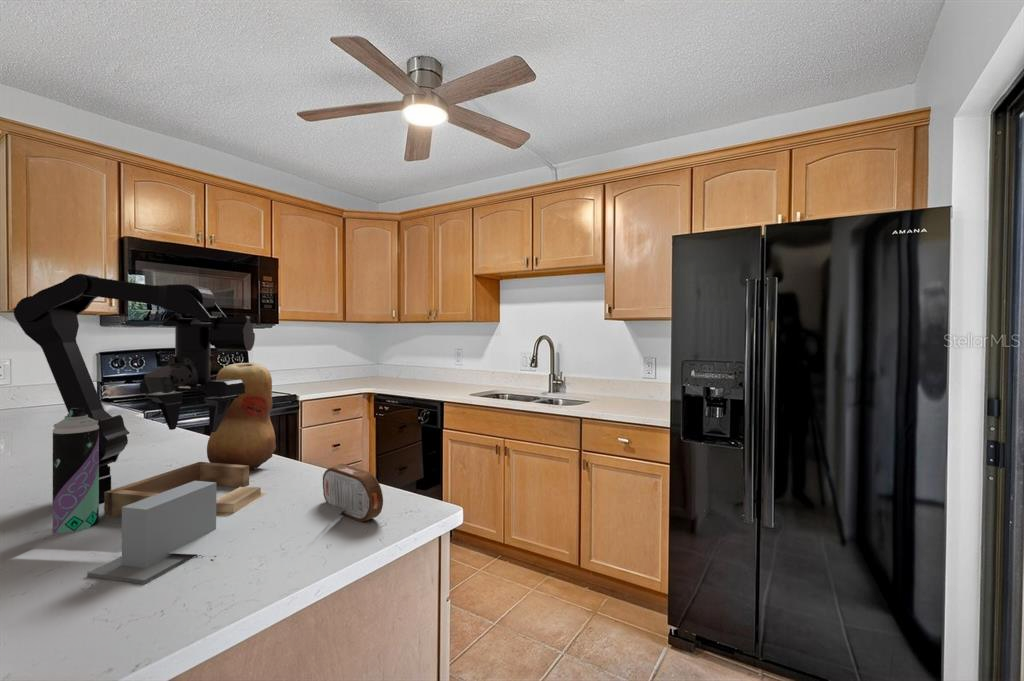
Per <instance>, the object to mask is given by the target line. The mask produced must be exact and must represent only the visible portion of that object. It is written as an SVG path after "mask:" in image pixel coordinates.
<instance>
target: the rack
mask: <svg viewBox="0 0 1024 681" xmlns="http://www.w3.org/2000/svg"><path fill="white" fill-rule="evenodd" d="M193 481H204V482H216V486H224V487H226V486H227V487H236V488H239V487H249V485H250V470H249V466H247V465H235V464H222V463H210V462H209V461H208V462H207V461H197V462H195V463H191V464H188V465H185V466H183V467H178V468H175V469H173V470H170V471H166V472H163V473H160V474H157V475H153V476H149V477H147V478H144V479H141V480H138V481H135V482H132V483H129V484H126V485H123V486H120V487H115V488H113V489H111V490H109V491H106V492H104V501H103V502H104V505H103V506H104V508H103V512H104V514H103V515H104V516H106V517H108V516H109V517H116V518H117V517H118V518H122V507H123V506H126V505H129V504H132V503H135V502H137V501H140V500H143V499H146V498H148V497H151V496H154V495H157V494H159V493H162V492H165V491H168V490H170V489H173V488H176V487H179V486H181V485H184V484H187V483H190V482H193Z"/></svg>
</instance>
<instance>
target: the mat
mask: <svg viewBox="0 0 1024 681" xmlns="http://www.w3.org/2000/svg"><path fill="white" fill-rule="evenodd" d="M172 554H173V555H171V556H169V557H167V558H165V559H164V560H162V561H160V562H158V563H156V564H154V565H152V566H150V567H148V568H140V567H132V566H124V565H122V556H120V557H118V558H115V559H114V560H111V561H109V562H107V563H105V564H103V565H100V566H98V567H97V568H94V569H92V570H90V571H87V573H86V575H87V577H90V578H97V579H105V580H113V581H120V582H126V583H133V584H140V583H141V585H146V584H147V583H149V582H151V581H153V580H155V579H157V578H159V577H160V576H162V575H164V574H166V573H167V572H170V571H171V570H173V569H175V568H176V567H178V566H180V565H182V564H184V563H185V562H187V561H190V560H191V559H192V558H193V559H194V558H195V557H196V556H198V554H194V553H193V554H192V553H189V554H187V553H172Z"/></svg>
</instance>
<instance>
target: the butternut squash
mask: <svg viewBox="0 0 1024 681" xmlns="http://www.w3.org/2000/svg"><path fill="white" fill-rule="evenodd" d="M271 374H272V373H270V370H269V369H268V368H267V367H266V366H264V365H262V364H260V363H255V362H238V363H232V364H228V365H225V366H224V367H222V368H220V369H219V371H218V373H217V374H216V376H215V380H222V379H240V380H242V381H243V383H244V384H245V393H244V394H238V395H239V398H235V399H234V401H233V402H232V404H231V405H230V407H229V409H228V410H227V412H226V414H225V416H224V418H223V419H222V421H221V423H220V425H219V427H218V429H217V431H216V432H213V433H212V432H210V435H209V438H208V440H207V445H206V456H207V459H208V462H209V463H222V464H235V465H247V466H249V471H254V470H255V469H257V468H259V467H260V466H262V465H263V464H264V463H266V462H267V461H269V460H270V459H271V458H272V457H273V454H274V452H275V451H276V450H277V445H276V434H275V433H276V432H275V429H274V426H273V423H272V421H271V415H270V414H271V410H272V409H273V392H272V391H273V379H272V375H271Z"/></svg>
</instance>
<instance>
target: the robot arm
mask: <svg viewBox="0 0 1024 681" xmlns="http://www.w3.org/2000/svg"><path fill="white" fill-rule="evenodd" d="M97 298H105V299H112V300H118V301H119V300H120V301H126V302H133V303H134V302H135V303H141V304H148V305H153V306H155V307H158V308H161V309H164V310H166V311H170V312H173V314H171V315H170V316H169V318H168V319H166V320H165V321H163V322H162V324H161V325H162V326H163V327H174V330H175V333H174V334H175V335H174V336H175V337H174V340H175V341H174V342H175V343H174V344H175V347H174V348H175V351H174V355H169V358H168V359H167V365H165V366H162V367H159V368H157V369H155V370H153V371H150V372H149V373H146V374H144V376H143V377H144V378H143V380H141V382H139V394H145V397H146V398H147V399H151V400H152V401H153V402H154V403H155V404H157V405H158V407H159V409H160V411H161V413H162V415H163V418H164V420H165V422H166V425H167V427H168V429H169V430H170V431H173V430H175V429H177V425H178V421H179V418H180V417H179V416H180V411H181V407H182V401H183V396H184V391H185V392H203V393H205V395H206V396H207V397H204V398H203V400H204V402H205V403H206V405H208V423H209V424H208V426H209V431H210V433H213V432H216V431H217V429H218V427H219V425H220V423H221V421H222V419H223V418H224V416H225V414H226V412H227V410H228V409H229V407H230V405H231V404H232V402H233V401H234V399H235V398H239V395H238V394H244V393H245V384H244V383H243V381H242V380H240V379H222V380H216V375H211V361H212V362H213V361H216V355H215V354H214V355H213V354H211V346H212V347H214V349H216V351H225V352H226V351H228V352H229V351H230V352H231V351H233V352H236V351H239V352H243V351H245V352H250V351H252V350H253V347H254V345H255V340H256V334H255V332H254V328H253V324H252V322H251V317H250V316H243V315H242V316H241V315H240V316H233V317H232V316H227V315H226V314H225V313H224V312H223V310H222V309H221V308H220V307H219V306H218V304H217V303H216V298H215V294H214V293H213V292H212V290H210V289H209V288H206V287H202V286H197V285H192V284H188V283H187V284H182V283H181V284H180V283H179V284H160V285H159V284H158V285H156V284H155V285H151V284H144V283H137V282H131V281H125V280H124V281H122V280H118V279H110V278H103V277H99V276H97V275H91V274H86V273H76V274H74V275H71V276H69V277H68V278H66V279H64V280H62V282H61V281H60V282H58V283H57V284H54V285H52V286H48V287H46V288H43V289H41V290H39V291H38V292H36V293H35V294H33V295H30V296H25V297H23V298H21V299H20V300H19V301H18V302H17V304H16V306H15V307H13V311H12V312H13V316H14V319H15V320H16V322H17V323H18V325H19V326H20V328H21V329H22V330H21V331H23V332H24V334H25V335H26V336H27V337H28V338H30V339H31V340H32V341H33V342H35V343H36V344H37V345H38V346H40V348H41V350H42V352H43V355H44V357H45V359H46V362H47V364H48V366H49V369H50V371H51V374H52V376H53V378H54V381H55V385H56V386H57V389H58V391H59V393H60V396H61V398H62V401H63V403H64V406H65V408H66V411H67V414H69V409H70V408H84V413H86V415H88V417H89V418H91V419H93V420H97V421H98V424H97V425H98V426H99V503H101V502H104V492H106V491H109V490H112V475H111V466H109V465H111V464H112V463H115V462H117V461H118V459H119V455H120V453H122V452H123V451H124V450H125V448H126V446H127V445H128V443H129V439H128V436H127V435H129V434H130V433H131V432H130V431H129V430H128V429H127V428H126V426H125V423H124V422H125V421H124V418H123V416H122V415H121V414H118V415H114V416H112V415H111V414H110V413H108V412H107V411H106V410H105V408H104V407H103V404H102V402H101V401H102V400H101V399H100V397H99V395H98V391H97V390H96V387H95V385H94V382H93V380H92V377H91V374H90V372H89V369H88V367H87V365H86V362H85V360H84V357H83V355H82V352H81V350H80V348H79V344H78V343H77V336H78V332H79V328H80V324H79V320H78V319H79V318H78V315H80V314H82V313H83V312H84V311H86V310H87V309H88V308H89V307H90V306H91V304H92V303H93V301H95V299H97ZM174 313H176V314H174ZM181 315H184V316H191V317H192V318H190V317H189V318H184V317H182V316H181ZM202 321H210V324H208V323H207V324H206V323H202Z"/></svg>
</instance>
